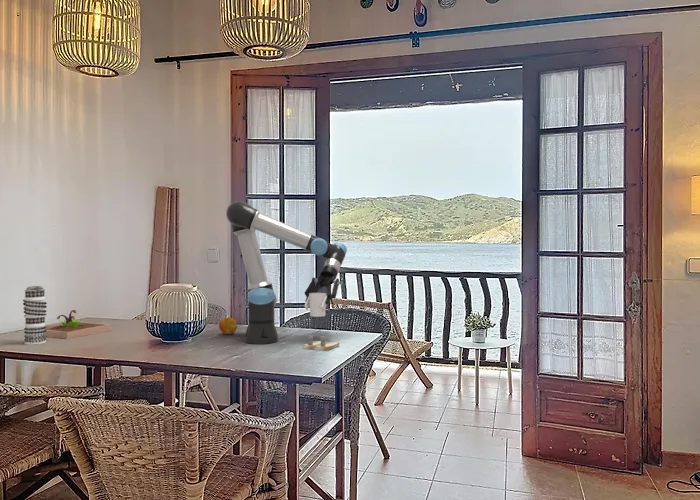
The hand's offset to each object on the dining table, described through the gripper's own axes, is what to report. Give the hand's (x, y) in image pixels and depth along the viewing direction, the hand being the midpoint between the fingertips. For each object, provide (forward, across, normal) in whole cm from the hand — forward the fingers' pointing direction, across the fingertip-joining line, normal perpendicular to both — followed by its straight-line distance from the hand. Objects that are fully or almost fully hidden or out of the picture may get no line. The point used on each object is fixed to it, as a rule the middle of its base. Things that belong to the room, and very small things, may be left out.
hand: (314, 308), depth 248 cm
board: (+16, -7, -6) cm, 18 cm away
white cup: (0, 0, -5) cm, 5 cm away
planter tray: (+29, +121, +7) cm, 125 cm away
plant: (+29, +122, +6) cm, 126 cm away
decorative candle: (+47, +113, +24) cm, 125 cm away
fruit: (+9, +49, -14) cm, 52 cm away
